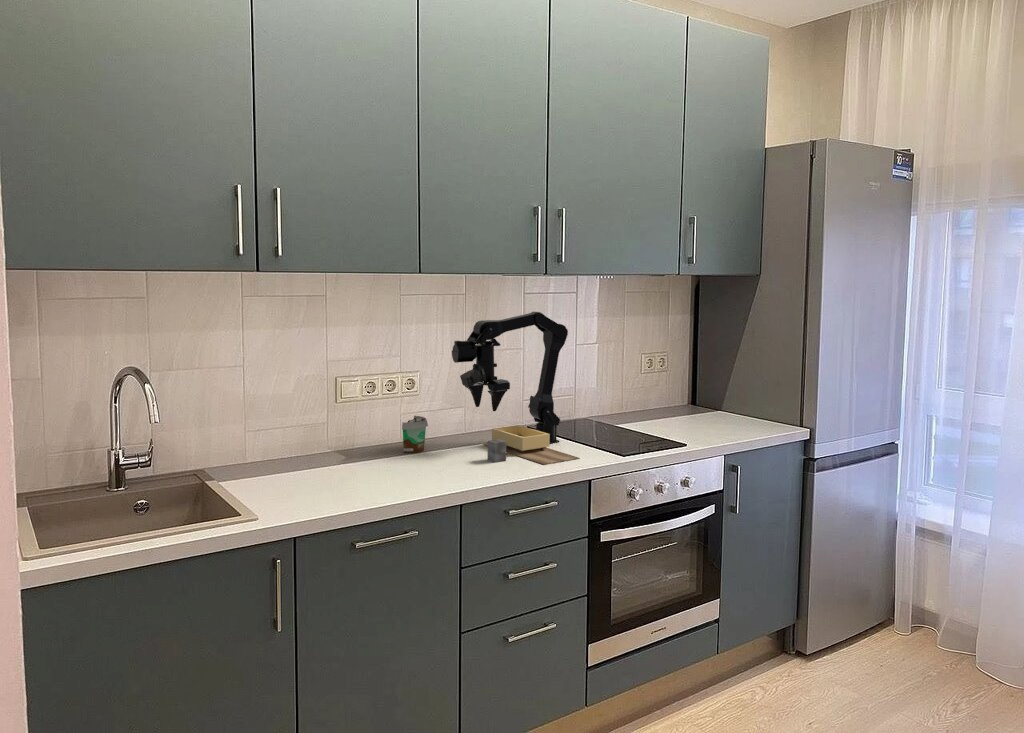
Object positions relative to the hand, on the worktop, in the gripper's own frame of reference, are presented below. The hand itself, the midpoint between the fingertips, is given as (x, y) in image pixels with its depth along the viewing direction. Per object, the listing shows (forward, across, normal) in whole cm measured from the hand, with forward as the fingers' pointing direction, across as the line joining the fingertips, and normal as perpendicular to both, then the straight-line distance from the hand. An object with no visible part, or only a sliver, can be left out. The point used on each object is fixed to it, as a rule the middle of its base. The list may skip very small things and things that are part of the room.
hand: (485, 409), depth 268 cm
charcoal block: (+12, +16, -8) cm, 22 cm away
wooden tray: (+13, +8, +8) cm, 17 cm away
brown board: (+13, +12, +8) cm, 20 cm away
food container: (+12, -8, -21) cm, 25 cm away
